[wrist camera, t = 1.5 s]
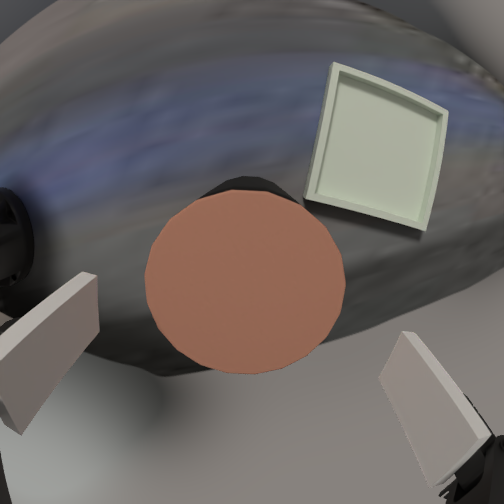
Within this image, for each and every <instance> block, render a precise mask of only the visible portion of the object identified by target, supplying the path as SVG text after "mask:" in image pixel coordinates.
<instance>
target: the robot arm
mask: <svg viewBox="0 0 504 504" xmlns="http://www.w3.org/2000/svg"><path fill="white" fill-rule="evenodd" d="M33 255H34V240H33V232H32V227H31V223H30V220H29V217H28V214H27V212H26V209H25V207H24V205H23V204H22V202H21V200H20V199H19V198H18V196H17V195H16V194H15V193H14V192H12V191H11V190H9V189H7V188H4V187H0V287H7V286H12V285H14V284H16V283H17V282H19V281H20V280H22V279H23V278H25V277H26V275H27V274H28V273H29V271H30V268H31V265H32V262H33ZM98 332H99V317H98V294H97V275H93V274H89V273H86V272H81V273H80V274H78V275H77V276H75V277H74V278H73V279H71V280H70V281H69V282H67V283H66V284H64V285H63V286H62V287H60V288H59V289H58V290H56V291H55V292H54V293H52V294H51V295H50V296H48V297H47V298H46V299H45V300H43V301H42V302H41V303H39V304H38V305H37V306H36V307H34V308H33V309H32V310H30V311H29V312H28V313H27V314H25V315H24V316H23V317H22V318H19V317H17V318H14V319H12V320H9V321H7V322H5V323H4V324H3V325H2V326H1V327H0V417H1V419H2V421H3V423H4V424H5V425H6V426H7V427H9V428H11V429H12V430H14V431H15V432H17V433H18V434H20V435H22V434H23V432H24V430H25V429H26V428H27V426H28V425H29V423H30V422H31V421H32V419H33V418H34V416H35V415H36V413H37V412H38V411H39V409H40V408H41V406H42V405H43V403H44V402H45V401H46V399H47V398H48V397H49V395H50V394H51V393H52V391H53V390H54V388H55V387H56V386H57V385H58V383H59V382H60V380H61V379H62V378H63V377H64V375H65V374H66V373H67V371H68V370H69V369H70V367H71V366H72V365H73V364H74V362H75V361H76V360H77V358H78V357H79V356H80V355H81V353H82V352H83V351H84V350H85V348H86V347H87V346H88V345H89V343H90V342H91V341H92V340H93V339H94V337H95V336H96V335H97V334H98ZM378 379H379V381H380V383H381V385H382V387H383V389H384V391H385V393H386V395H387V397H388V399H389V401H390V403H391V405H392V407H393V409H394V411H395V413H396V415H397V418H398V420H399V422H400V424H401V426H402V428H403V430H404V432H405V434H406V437H407V439H408V441H409V443H410V445H411V448H412V449H413V452H414V454H415V456H416V459H417V461H418V463H419V465H420V467H421V470H422V472H423V475H424V477H425V479H426V482H427V484H428V486H429V488H431V487H434V486H437V485H440V484H443V483H444V482H446V481H447V480H448V479H449V478H450V477H451V476H452V475H453V474H455V476H456V479H455V480H454V481H453V482H452V483H451V484H450V485H448V486H447V487H446V488H445V489H444V490H443V491H441V492H440V494H439V496H440V497H441V496H442V495H443V494H445V493H446V492H447V491H449V493H448V494H447V495H446V496H444V498H445V499H447V501H446V504H504V435H500V436H497V437H495V435H494V434H493V433H492V431H491V429H490V428H489V427H488V425H487V424H486V422H485V421H484V419H483V418H482V416H481V415H480V414H479V413H478V411H477V409H476V408H475V407H473V404H472V402H471V401H470V400H469V398H468V397H467V396H466V395H465V394H464V393H462V392H461V390H460V389H459V388H458V386H457V385H456V384H455V383H454V381H453V380H452V379H451V377H450V376H449V375H448V373H447V372H446V371H445V369H444V368H443V367H442V365H441V364H440V363H439V362H438V360H436V358H435V357H434V356H433V354H432V353H431V352H430V351H429V349H428V348H427V347H426V346H425V345H424V343H423V342H422V341H421V340H420V338H419V337H418V336H417V335H416V334H415V333H414V332H406V331H402V332H401V334H400V336H399V338H398V341H397V343H396V345H395V347H394V349H393V351H392V353H391V355H390V357H389V359H388V361H387V363H386V365H385V367H384V368H383V370H382V372H381V374H380V376H379V378H378ZM0 504H12V502H11V498H10V495H9V491H8V487H7V483H6V479H5V474H4V470H3V465H2V459H1V453H0Z"/></svg>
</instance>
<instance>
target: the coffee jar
mask: <svg viewBox="0 0 504 504" xmlns="http://www.w3.org/2000/svg"><path fill="white" fill-rule="evenodd" d="M145 285H146V296H147V304H148V306H149V308H150V311H151V313H152V315H153V317H154V320H155V322H156V324H157V326H158V328H159V330H160V331H161V332H162V333H163V334H164V336H165V337H166V338H167V339H168V340H169V341H170V342H171V343H172V345H173V346H174V347H175V348H176V349H177V350H178V351H180V352H181V353H183V354H185V355H186V356H188V357H189V358H191V359H192V360H194V361H195V362H197V363H199V364H200V365H203V366H206V367H209V368H213V369H216V370H219V371H222V372H226V373H239V374H258V373H262V372H268V371H272V370H277V369H282V368H284V367H286V366H288V365H290V364H292V363H294V362H295V361H298V360H299V359H301V358H303V357H305V356H307V355H308V354H309V353H310V352H311V351H312V350H313V349H314V348H315V347H317V346H318V345H319V344H320V343H321V342H322V341H323V340H324V339H325V338H326V337H327V336H328V334H329V332H330V330H331V329H332V327H333V325H334V323H335V322H336V320H337V318H338V316H339V314H340V312H341V307H342V302H343V297H344V292H345V286H346V282H345V275H344V269H343V262H342V256H341V253H340V251H339V250H338V248H337V246H336V244H335V242H334V241H333V239H332V237H331V235H330V233H329V232H328V230H327V228H326V227H325V226H324V225H323V224H322V223H321V222H320V221H319V220H317V219H316V218H315V217H314V216H313V215H312V214H311V213H310V212H308V211H307V210H306V209H305V208H304V207H303V206H302V205H300V204H299V203H298V202H297V201H296V200H294V199H293V198H292V197H291V196H290V195H288V194H287V193H286V192H285V191H283V190H282V189H281V188H280V187H278V186H277V185H276V184H275V183H273V182H270V181H268V180H265V179H262V178H260V177H248V176H241V177H238V178H234V179H230V180H227V181H225V182H224V183H222V184H220V185H219V186H217V187H216V188H214V189H212V190H211V191H209V192H208V193H206V194H205V195H203V196H202V197H200V198H199V199H197V200H196V201H195V202H193V203H192V204H190V205H189V206H187V207H186V208H185V209H183V210H182V211H181V212H179V213H178V214H176V215H175V216H174V217H172V218H171V219H170V220H169V221H168V223H167V224H166V225H165V227H164V228H163V230H162V231H161V233H160V234H159V236H158V237H157V238H156V240H155V241H154V243H153V244H152V247H151V251H150V255H149V258H148V262H147V266H146V270H145Z"/></svg>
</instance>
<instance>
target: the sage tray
mask: <svg viewBox="0 0 504 504" xmlns="http://www.w3.org/2000/svg"><path fill="white" fill-rule="evenodd" d="M447 121H448V111H447V110H445V109H444V108H442V107H440V106H438V105H436V104H434V103H432V102H430V101H429V100H427V99H425V98H423V97H421V96H419V95H416V94H414V93H412V92H410V91H408V90H406V89H404V88H401V87H399V86H397V85H395V84H392V83H390V82H388V81H385V80H383V79H380V78H378V77H375V76H373V75H370V74H367V73H365V72H362V71H359V70H356V69H354V68H351V67H348V66H345V65H342V64H339V63H335V62H333V63H332V64H331V65H330V67H329V71H328V77H327V82H326V88H325V93H324V98H323V104H322V109H321V114H320V119H319V124H318V129H317V134H316V138H315V143H314V148H313V153H312V157H311V162H310V167H309V171H308V176H307V180H306V185H305V189H304V193H303V197H304V198H305V199H308V200H313V201H317V202H321V203H325V204H329V205H333V206H337V207H341V208H345V209H349V210H353V211H357V212H361V213H364V214H368V215H372V216H375V217H379V218H382V219H386V220H390V221H393V222H396V223H400V224H403V225H407V226H410V227H413V228H417V229H420V230H423V231H426V228H427V224H428V220H429V217H430V213H431V209H432V205H433V201H434V196H435V192H436V187H437V183H438V178H439V173H440V168H441V162H442V156H443V150H444V144H445V137H446V129H447Z"/></svg>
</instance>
